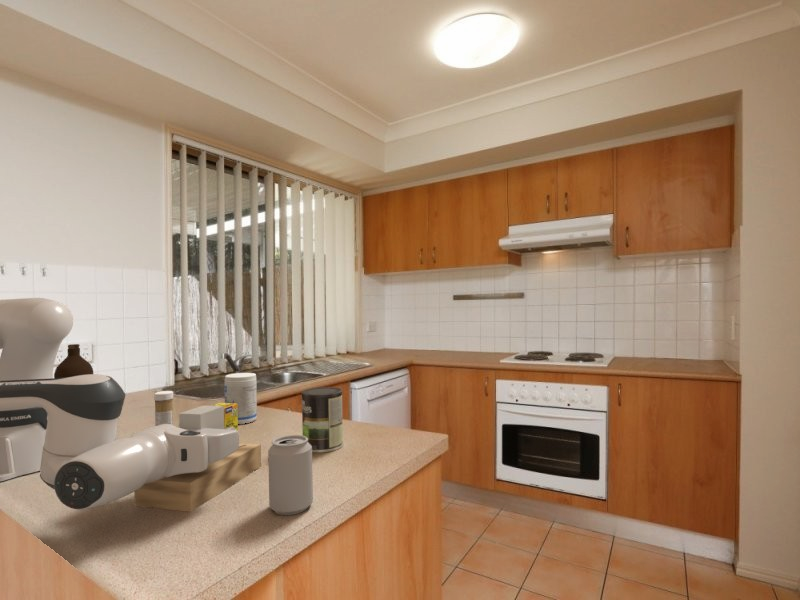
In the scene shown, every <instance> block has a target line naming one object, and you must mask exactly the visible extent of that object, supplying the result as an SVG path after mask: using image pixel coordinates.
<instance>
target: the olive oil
mask: <svg viewBox="0 0 800 600" xmlns="http://www.w3.org/2000/svg"><path fill="white" fill-rule="evenodd" d="M80 346H81V345H80V343H74V344H73V343H72V344H67V356H66V358H64V359H63V360H62V361H61V362H60V363H59V364H58V365H57V366H56V368H55V370H54V373H53V378H64V377H74V376H79V375H88V374H94V369H93V366H92V364H91V363H90V362H89V361H87V360H86V359H85V358H84V357H82V355H81V348H80Z"/></svg>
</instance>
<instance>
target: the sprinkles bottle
mask: <svg viewBox="0 0 800 600" xmlns="http://www.w3.org/2000/svg"><path fill="white" fill-rule="evenodd" d="M173 399H174V392H173V391H172V390H162V391H158V392H157V391H156V392H155V393H154V394H153V400H154V424H155V425H154V426H158V425H161V424H171V425H174V426H175V423H174V420H175V418H174V407H173V405H174V403H173V401H174V400H173Z"/></svg>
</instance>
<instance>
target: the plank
mask: <svg viewBox="0 0 800 600" xmlns="http://www.w3.org/2000/svg"><path fill="white" fill-rule="evenodd" d="M258 468H259V469H260V468H262V446H261V443H247V442H245V443H244V442H239V447H238V449H237V450H236V451H235V452H233V453H232V454H230V455H228V456H227V457H225V458H223V459H221V460H219V461H217V462H214V463H211V464H208V465H207V469H205V470H204V471H201V472H195V473H186V474H178V475H174V476H170V477H163V478H161V479H159V480H157V481H155V482H152V483H148V484H144V485H143V486H142V487H141V488H140V489H138V490H137V491H135V492H134V506H135V507H144V508H152V507H153V508H152V509H161V510H162V509H163V510H170V511H171V510H172V511H181V512H187V513H188V512H189V513H191V512H193V511H194V510H196V509H198V508H199V507H201V506H202V505H204V504H205V503H207V502H208V501H210V500H211V499H212V498H215V497H216V496H218V495H219V494H221V493H222V492H224V491H225V490H227V489H229V488H230V487H232V486H234V485H235V484H236V482H237V483H238V482H240V481H241V480H243V479H244V478H246V477H248V476H249V475H250V473H251V474H252V473H253V471H254V472H255V471H257V470H259V469H258ZM247 475H248V476H247ZM245 476H246V477H245Z"/></svg>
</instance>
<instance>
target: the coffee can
mask: <svg viewBox="0 0 800 600" xmlns="http://www.w3.org/2000/svg"><path fill="white" fill-rule="evenodd" d="M300 393H301V394H300V395H301V415H302V416H301V418H302V419H301V421H302V424H301V425H302V436H305V437H307V438H308V441H307V442H308V443H309V444H310V445H311V446H312V454H313V453H316V454H323V453H331V452H334V451H337V450H339V449H341V448H343V446H344V442H343V441H344V440H343V438H344V437H343V435H344V434H343V430H344V429H343V389H342V388H340V387H335V386H333V387H332V386H321V387H312V388H307V389H304V390H302V391H301V392H300Z"/></svg>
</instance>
